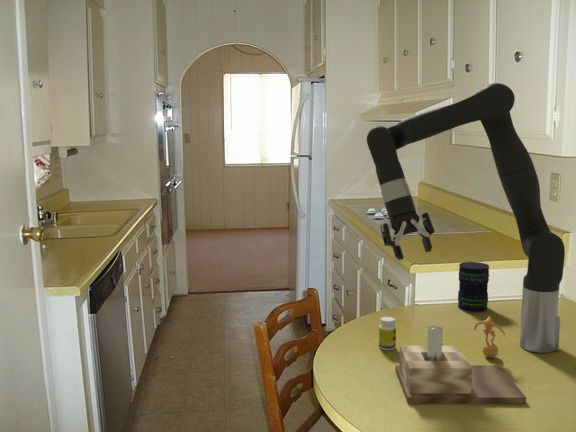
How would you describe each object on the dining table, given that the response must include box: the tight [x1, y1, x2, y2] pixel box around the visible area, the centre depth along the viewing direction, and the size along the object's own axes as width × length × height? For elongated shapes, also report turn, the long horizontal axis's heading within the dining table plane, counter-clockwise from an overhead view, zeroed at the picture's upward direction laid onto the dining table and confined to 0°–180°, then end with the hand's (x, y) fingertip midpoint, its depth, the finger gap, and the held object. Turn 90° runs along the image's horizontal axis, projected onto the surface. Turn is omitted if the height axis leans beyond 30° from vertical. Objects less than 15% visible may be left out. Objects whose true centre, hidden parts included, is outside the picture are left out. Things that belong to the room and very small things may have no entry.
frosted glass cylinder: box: [426, 325, 444, 361], centre depth 141 cm, size 3×3×13 cm
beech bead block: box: [399, 345, 472, 393], centre depth 141 cm, size 14×14×6 cm
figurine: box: [473, 315, 507, 359], centre depth 157 cm, size 8×6×12 cm
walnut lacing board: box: [394, 364, 527, 405], centre depth 142 cm, size 26×18×2 cm
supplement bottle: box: [378, 316, 397, 351], centre depth 166 cm, size 5×5×8 cm
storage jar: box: [457, 261, 490, 313], centre depth 201 cm, size 10×10×15 cm
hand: (415, 255), depth 158 cm, fingers open, 8 cm apart
